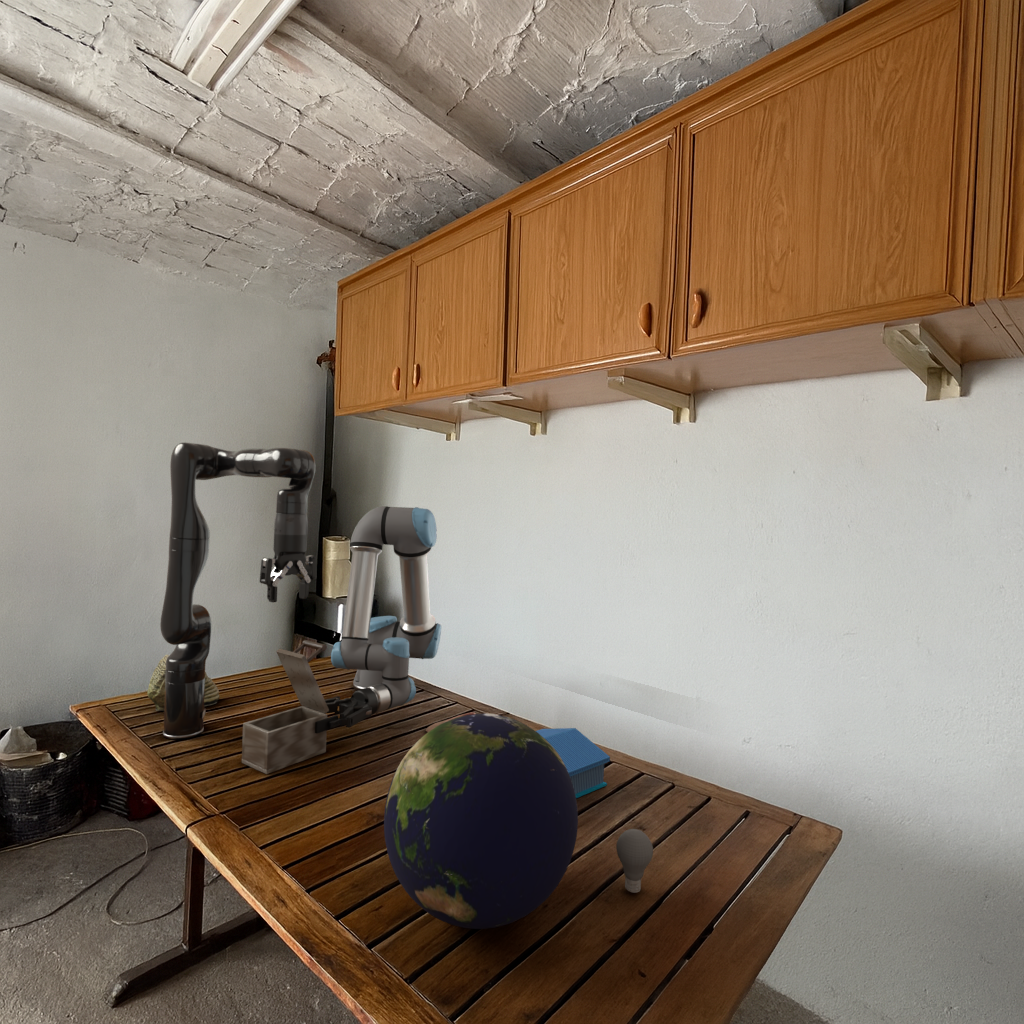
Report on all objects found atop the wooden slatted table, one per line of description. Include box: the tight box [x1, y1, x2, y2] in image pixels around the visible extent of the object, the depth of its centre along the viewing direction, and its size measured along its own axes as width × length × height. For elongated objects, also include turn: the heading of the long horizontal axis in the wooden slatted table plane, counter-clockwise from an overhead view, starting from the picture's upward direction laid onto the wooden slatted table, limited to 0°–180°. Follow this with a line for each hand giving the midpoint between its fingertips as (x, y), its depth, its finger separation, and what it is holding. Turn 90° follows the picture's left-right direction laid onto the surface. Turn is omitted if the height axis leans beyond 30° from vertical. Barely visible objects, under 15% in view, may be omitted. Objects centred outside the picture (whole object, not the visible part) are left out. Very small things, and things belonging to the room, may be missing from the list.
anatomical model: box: [425, 711, 477, 733], centre depth 175 cm, size 13×4×12 cm
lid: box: [276, 639, 329, 714], centre depth 159 cm, size 17×10×8 cm
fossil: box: [147, 654, 221, 712], centre depth 185 cm, size 9×18×15 cm, turn 132°
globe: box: [383, 712, 579, 930], centre depth 99 cm, size 30×30×30 cm
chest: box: [241, 705, 328, 775], centre depth 153 cm, size 17×10×9 cm, turn 146°
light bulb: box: [615, 828, 654, 894], centre depth 106 cm, size 6×6×10 cm
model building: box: [535, 727, 611, 799], centre depth 138 cm, size 39×24×10 cm, turn 132°
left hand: (288, 600), depth 151 cm, fingers open, 8 cm apart
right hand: (302, 722), depth 156 cm, fingers closed on chest, 10 cm apart
